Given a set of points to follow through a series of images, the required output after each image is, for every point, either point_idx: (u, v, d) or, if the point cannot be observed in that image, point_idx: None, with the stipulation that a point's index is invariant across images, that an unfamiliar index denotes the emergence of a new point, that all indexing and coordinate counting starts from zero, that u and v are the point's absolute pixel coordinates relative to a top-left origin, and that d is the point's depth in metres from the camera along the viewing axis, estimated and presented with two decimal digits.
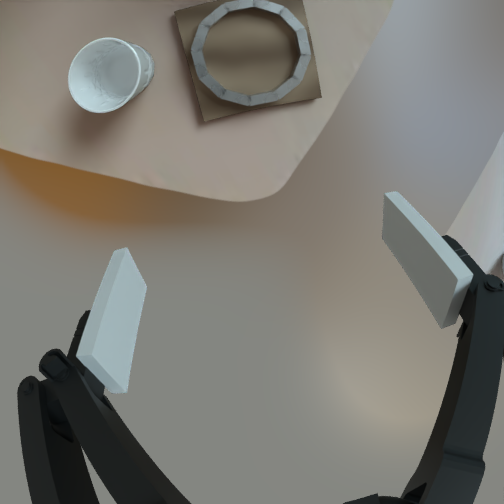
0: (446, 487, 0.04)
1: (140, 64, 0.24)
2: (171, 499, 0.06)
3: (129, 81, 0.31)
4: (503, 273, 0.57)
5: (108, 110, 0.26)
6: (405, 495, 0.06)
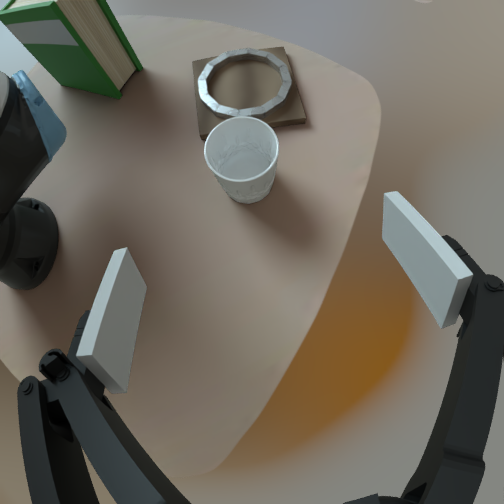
0: (446, 487, 0.04)
1: None
2: (171, 499, 0.06)
3: (258, 172, 0.40)
4: None
5: (277, 145, 0.31)
6: (405, 495, 0.06)
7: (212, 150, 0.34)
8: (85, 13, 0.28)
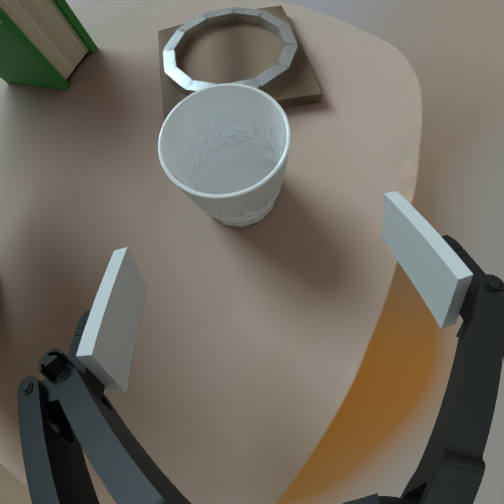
0: (446, 487, 0.04)
1: None
2: (171, 499, 0.06)
3: (255, 177, 0.25)
4: None
5: (287, 129, 0.17)
6: (405, 495, 0.06)
7: (175, 145, 0.20)
8: None
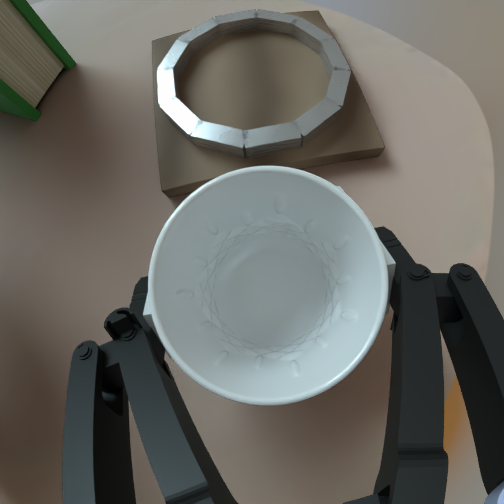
0: (410, 487, 0.04)
1: None
2: (213, 482, 0.06)
3: (295, 282, 0.18)
4: None
5: (383, 275, 0.10)
6: None
7: (179, 269, 0.12)
8: None
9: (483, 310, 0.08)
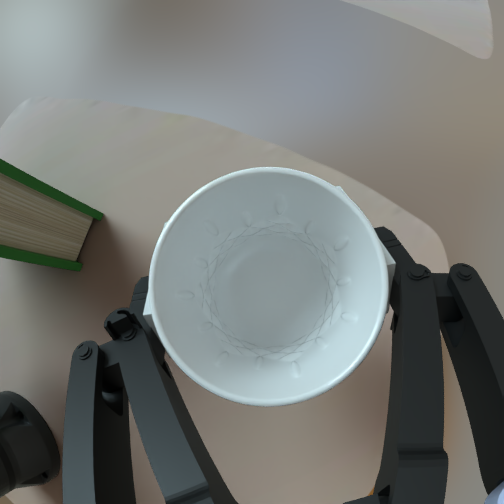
0: (410, 487, 0.04)
1: None
2: (213, 482, 0.06)
3: (296, 283, 0.18)
4: None
5: (384, 276, 0.10)
6: None
7: (179, 270, 0.12)
8: None
9: (483, 310, 0.08)
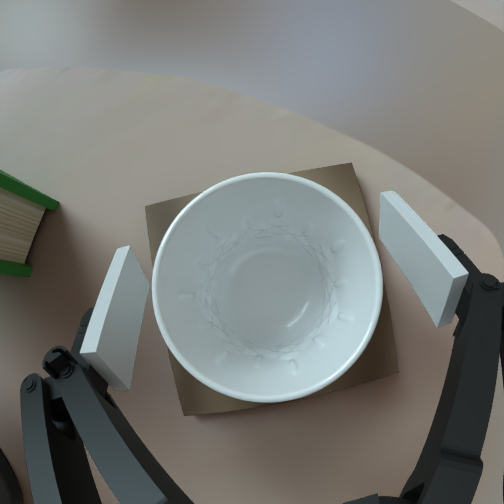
0: (444, 487, 0.04)
1: None
2: (173, 498, 0.06)
3: (294, 284, 0.18)
4: None
5: (378, 277, 0.10)
6: (403, 495, 0.06)
7: (181, 271, 0.13)
8: None
9: None
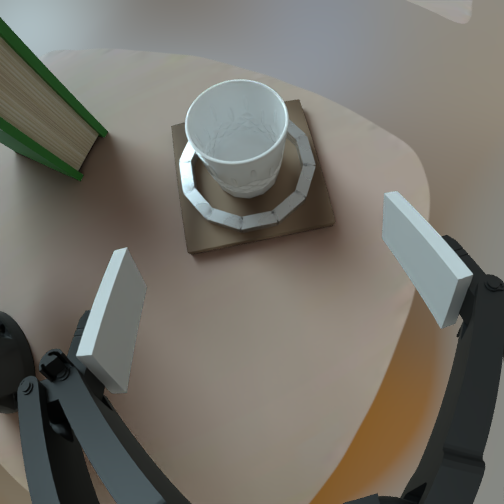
0: (446, 487, 0.04)
1: None
2: (171, 499, 0.06)
3: None
4: None
5: (286, 114, 0.22)
6: (405, 495, 0.06)
7: (197, 126, 0.24)
8: (5, 79, 0.18)
9: None
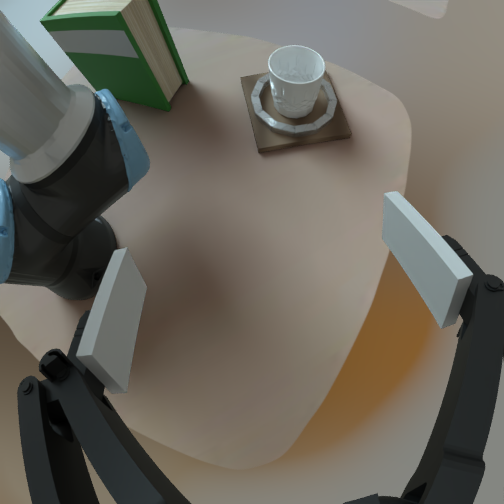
0: (446, 487, 0.04)
1: (292, 46, 0.38)
2: (171, 499, 0.06)
3: None
4: None
5: (323, 63, 0.37)
6: (405, 495, 0.06)
7: (271, 69, 0.39)
8: (144, 25, 0.33)
9: None
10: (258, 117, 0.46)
